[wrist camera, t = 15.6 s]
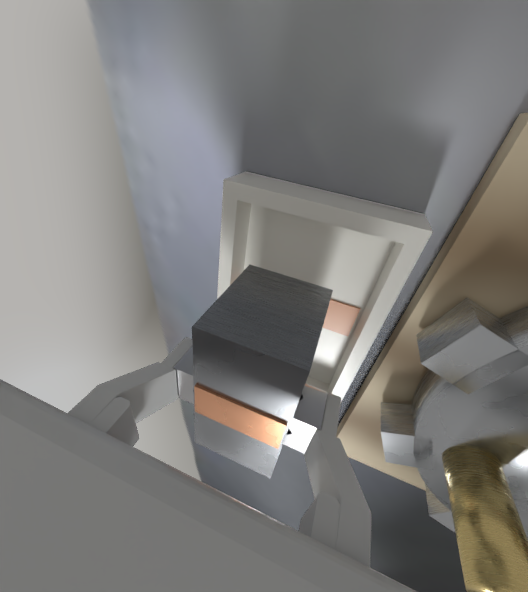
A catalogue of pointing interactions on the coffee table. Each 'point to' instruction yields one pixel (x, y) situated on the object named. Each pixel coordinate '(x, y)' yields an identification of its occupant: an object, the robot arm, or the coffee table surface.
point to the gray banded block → (254, 364)
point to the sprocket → (472, 439)
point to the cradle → (324, 259)
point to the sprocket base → (451, 295)
